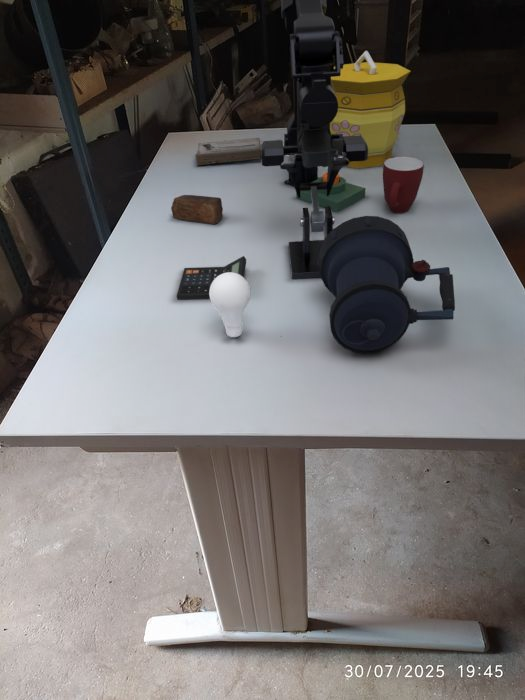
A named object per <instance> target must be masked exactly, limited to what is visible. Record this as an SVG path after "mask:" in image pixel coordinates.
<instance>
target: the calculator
mask: <svg viewBox="0 0 525 700" xmlns="http://www.w3.org/2000/svg"><path fill="white" fill-rule="evenodd" d="M246 265H247V258H246V257H245V255H243V256H241V257H239V258H237V259H235V260H234V261H232V262H230V263H228V264H227V265H224V266H205V267H203V266H202V267H200V266H199V267H184V268H183V272H182V276H181V278H180V282H179V286H178V289H177V293H176V300H177V301H185V300H186V301H187V300H210V296H209V290H210V286H211V284H212V282H213V280H214V279H215V278H216V277H217V276H219V275H221V274H223V273H227V272H233V273H237V274H239V275H241V276H242V277H244V278H245V276H246Z"/></svg>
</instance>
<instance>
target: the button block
mask: <svg viewBox="0 0 525 700" xmlns="http://www.w3.org/2000/svg"><path fill="white" fill-rule="evenodd" d="M313 182H323V176H320V177H318V179H317V180H315V181H313ZM317 194H318V203H319V208H320V207H321V208H323V209H325V207H327V206H330V207H331V211H332V212H335V213H339V212H341V211H343V210H345V209H346V208H348V207H350V206H351V205H353V204H355V203H357V202H360V200H362V199H363V200H364V198H366V187H363V186H360V185H357V184H352V183H349V182H347V180H346V179H345V178H344V177H343V176H339V183H337V184H334V185H333V187H332V189H331V192H330V194H329V196H326V190H317ZM295 199H297V200H300V201H303V202H305V203H309V204H311V205H312V199H311V191H300V198H298V196H297V193H296V192H295Z"/></svg>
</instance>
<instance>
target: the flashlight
mask: <svg viewBox="0 0 525 700" xmlns="http://www.w3.org/2000/svg"><path fill="white" fill-rule="evenodd" d="M323 240H324V241H323V243H322V245H321V248H320V254H319V259H318V261H317V264H318V267H319V268H320V270H321V278H320V279H321V280H322V282H323V285H324V287H325V288H326V290H328V291H329V292H330V293H331V294H332V295H333V296H334V297H335V298H334V300H333V302H332V304H331V305H330V310H329V324H330V325H329V326H330V331H331V334H332V336H333V339H334V340H335V341H336V342H337V343H338V344H339V345H340V346H341V347H342V348H344V349H346V350H347V351H350V352H354V353H358V354H359V353H360V354H372V353H373V354H374V353H377V352H381V351H384V350H386V349H388V348H390V347H392V346H393V345H395V344H396V343H397V342H398V341H400V340H401V339H402V338H403V336H404V335H405V334H406V332H407V330H408V328H409V326H410V325H413V324H414V323H417V322H418V321H437V320H438V321H439V320H441V321H443V320H454V312H455V310H456V300H455V288H454V287H455V286H454V275H453V274H452V273H451V270H450V267H449V266H445V267H435V268H431V265H430V264H429V262H427V260H425V259H421V260H416V261H415V260H414V256H413V252H412V248H411V245H410V242H409V239H408V238H407V235H406V233H405V231H404V230H403V229H402V228H401V226H399V224H397V223H396V222H394V221H392V220H391V219H388V218H385V217H382V216H379V215H378V216H377V215H364V216H358V217H357V216H356V217H353V218H350V219H348V220H346V221H343V222H342V223H340V224H338V225H337V226H335V227H333V230H332V231H331V232H330V233H329V234H328V235H327V236H326V238H325V239H324V238H323ZM435 275H438V279H439V295H440V298H441V302H442V304H441V308H442V309H441V310H424V311H418V310H417V309H415V308H412V307H411V305H410V302H409V300H408V297H407V296H406V295H405V293H404V291H403V290H402V288H403V286H404V284H405V283H406V282H407V280H408V279H411V278H412V279H413V280H414V281H416V282H424V281H425V280H426V277H427V276H435Z"/></svg>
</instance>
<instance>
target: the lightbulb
mask: <svg viewBox="0 0 525 700" xmlns="http://www.w3.org/2000/svg"><path fill="white" fill-rule="evenodd" d="M209 296H210V299H209V300H210V302H211V304H212V306H213V307H214V308H215V309H216V311H218V313H219V314H220V317H221V319H222V324H223V325H224V328H225V333H226V335H227V336H228V337H231V338H237V337H240V336H241V335H242V334H243V323H244V314H245V311H246V308H247V306H248V305H249V302H250V301H251V296H252V289H251V286H250V283H249V282H248V280H247V279H246V278H245V277H242V276H241V275H239V274H237V273H233V272H227V273H223V274H221V275H219V276H217V277H216V278H215V279H214V280H213V282H212V284H211V286H210V290H209Z"/></svg>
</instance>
